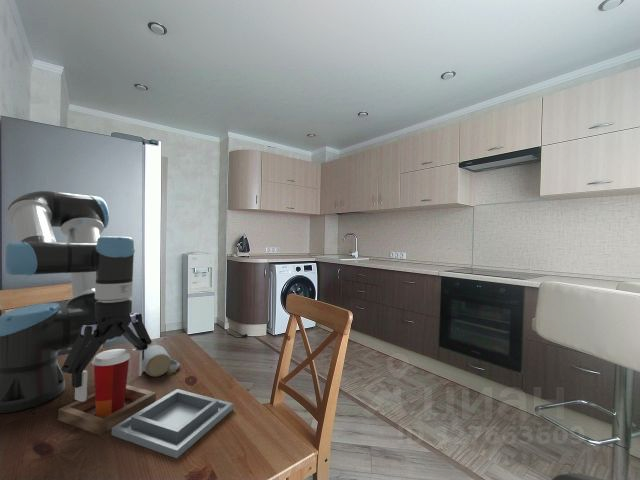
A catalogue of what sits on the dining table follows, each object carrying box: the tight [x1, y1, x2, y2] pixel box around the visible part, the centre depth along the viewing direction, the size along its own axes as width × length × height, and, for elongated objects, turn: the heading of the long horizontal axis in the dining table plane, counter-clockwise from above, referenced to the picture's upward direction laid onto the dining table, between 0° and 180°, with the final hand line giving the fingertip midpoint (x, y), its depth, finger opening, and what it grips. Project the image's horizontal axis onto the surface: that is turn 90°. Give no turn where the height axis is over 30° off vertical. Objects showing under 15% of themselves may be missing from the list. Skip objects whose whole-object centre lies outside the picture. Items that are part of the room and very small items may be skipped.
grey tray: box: [111, 388, 234, 459], centre depth 69 cm, size 18×18×3 cm
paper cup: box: [91, 348, 132, 418], centre depth 72 cm, size 8×8×14 cm
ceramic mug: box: [142, 344, 180, 378], centre depth 94 cm, size 11×8×8 cm
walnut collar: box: [57, 384, 157, 436], centre depth 72 cm, size 14×14×2 cm
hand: (111, 386), depth 72 cm, fingers open, 13 cm apart
